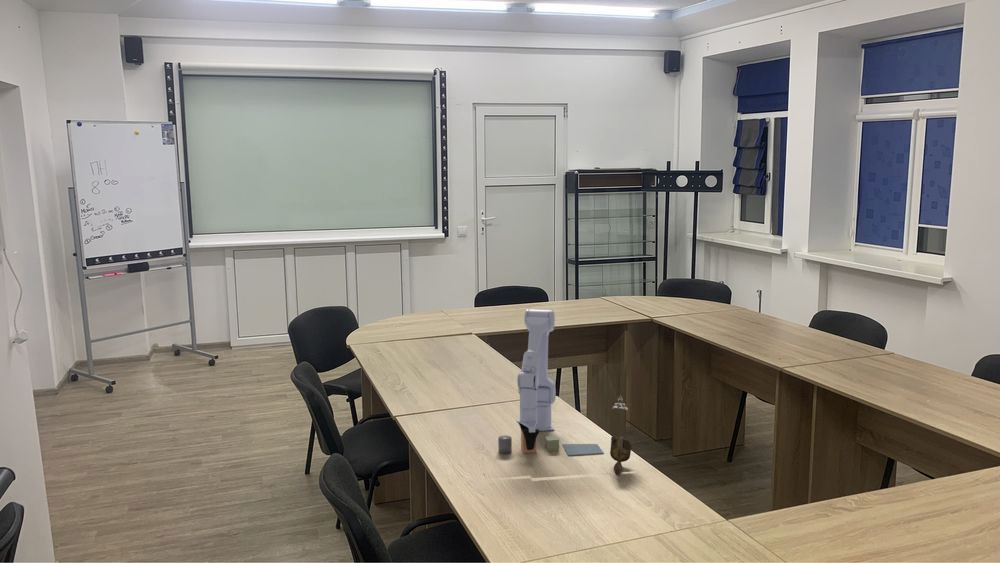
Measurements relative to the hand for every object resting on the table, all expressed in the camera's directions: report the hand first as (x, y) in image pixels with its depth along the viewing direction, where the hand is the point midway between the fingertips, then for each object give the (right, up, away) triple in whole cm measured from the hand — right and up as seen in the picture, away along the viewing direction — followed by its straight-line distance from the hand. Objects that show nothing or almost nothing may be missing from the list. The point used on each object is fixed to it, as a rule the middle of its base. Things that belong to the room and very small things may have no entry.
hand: (528, 445), depth 246 cm
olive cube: (+8, -2, +1) cm, 8 cm away
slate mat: (+18, -1, +3) cm, 18 cm away
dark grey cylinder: (-8, -2, -1) cm, 8 cm away
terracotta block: (0, -2, 0) cm, 2 cm away
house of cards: (+38, +4, +39) cm, 55 cm away
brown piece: (+29, -4, -17) cm, 33 cm away
